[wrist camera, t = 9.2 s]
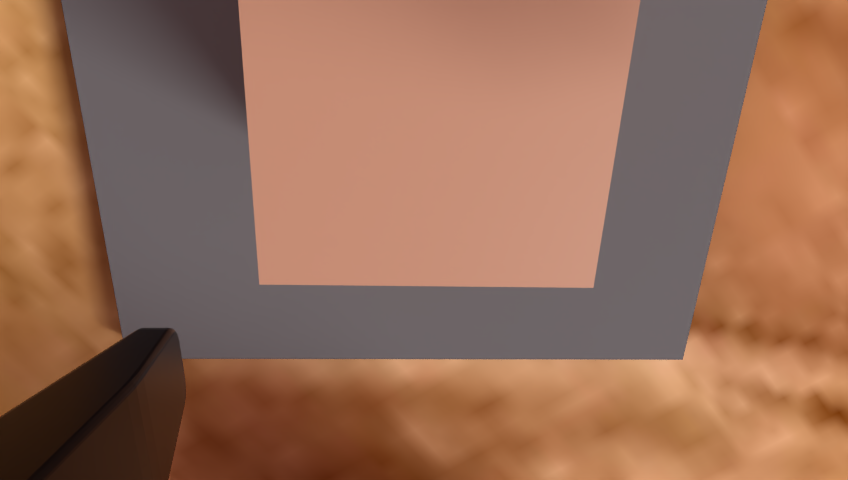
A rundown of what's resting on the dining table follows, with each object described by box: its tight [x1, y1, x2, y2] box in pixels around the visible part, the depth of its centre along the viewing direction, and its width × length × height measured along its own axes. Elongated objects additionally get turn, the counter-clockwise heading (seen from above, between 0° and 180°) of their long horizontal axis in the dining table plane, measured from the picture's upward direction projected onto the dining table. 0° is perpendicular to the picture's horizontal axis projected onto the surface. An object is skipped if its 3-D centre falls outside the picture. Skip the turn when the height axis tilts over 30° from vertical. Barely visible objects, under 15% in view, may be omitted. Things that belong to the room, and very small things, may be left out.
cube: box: [238, 0, 640, 288], centre depth 15 cm, size 6×6×6 cm
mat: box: [61, 0, 767, 360], centre depth 18 cm, size 18×16×1 cm
